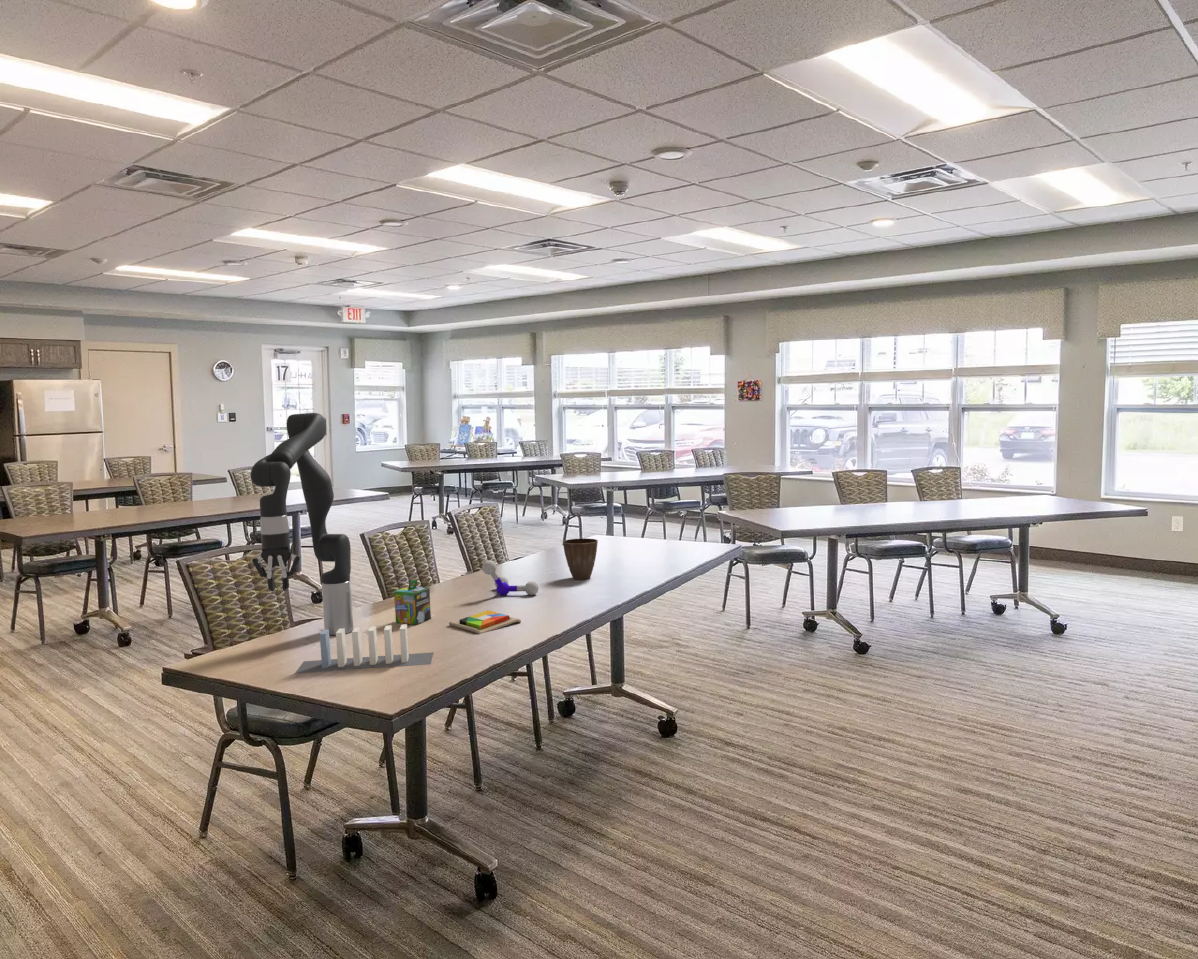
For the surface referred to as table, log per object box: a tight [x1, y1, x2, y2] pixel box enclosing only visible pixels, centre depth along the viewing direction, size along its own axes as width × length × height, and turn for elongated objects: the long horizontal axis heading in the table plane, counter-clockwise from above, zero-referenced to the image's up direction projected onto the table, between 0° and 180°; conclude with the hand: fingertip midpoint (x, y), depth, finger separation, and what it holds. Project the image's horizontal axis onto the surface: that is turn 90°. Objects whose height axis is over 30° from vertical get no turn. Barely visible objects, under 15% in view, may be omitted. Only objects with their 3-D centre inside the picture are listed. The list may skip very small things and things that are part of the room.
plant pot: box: [562, 537, 599, 581], centre depth 360 cm, size 15×15×16 cm
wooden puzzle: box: [448, 609, 522, 635], centre depth 289 cm, size 18×19×4 cm
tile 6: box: [399, 624, 410, 663], centre depth 248 cm, size 2×5×10 cm, turn 7°
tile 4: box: [367, 625, 379, 665], centre depth 247 cm, size 2×5×10 cm, turn 7°
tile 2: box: [335, 628, 348, 667], centre depth 246 cm, size 2×5×10 cm, turn 7°
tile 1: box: [319, 629, 332, 668], centre depth 246 cm, size 2×5×10 cm, turn 7°
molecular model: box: [481, 560, 540, 596], centre depth 335 cm, size 21×21×15 cm
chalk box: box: [393, 578, 432, 626], centre depth 296 cm, size 9×9×15 cm
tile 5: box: [383, 624, 394, 664], centre depth 248 cm, size 2×5×10 cm, turn 7°
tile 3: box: [351, 626, 363, 666], centre depth 247 cm, size 2×5×10 cm, turn 7°
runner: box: [294, 651, 434, 675], centre depth 248 cm, size 38×12×1 cm, turn 97°
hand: (279, 590), depth 244 cm, fingers open, 3 cm apart
